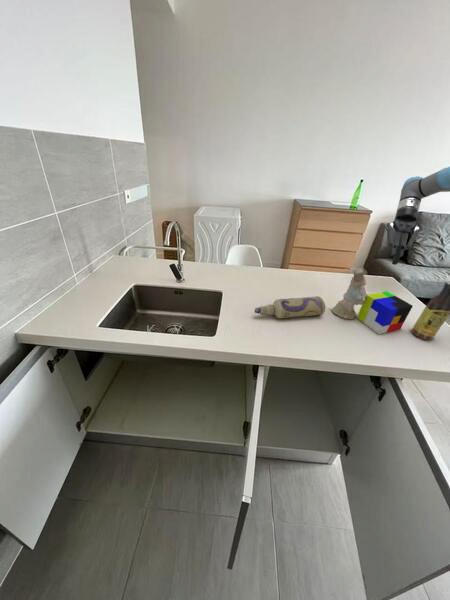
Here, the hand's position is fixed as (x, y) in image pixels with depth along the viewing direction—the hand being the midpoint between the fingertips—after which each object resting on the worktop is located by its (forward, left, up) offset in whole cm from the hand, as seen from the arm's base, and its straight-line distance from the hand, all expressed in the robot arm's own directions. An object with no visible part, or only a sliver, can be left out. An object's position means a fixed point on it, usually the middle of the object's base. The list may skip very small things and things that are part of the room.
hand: (395, 263), depth 97 cm
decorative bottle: (+32, +33, -16) cm, 49 cm away
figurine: (+13, +22, -16) cm, 30 cm away
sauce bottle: (-12, +22, -16) cm, 30 cm away
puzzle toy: (+2, +22, -16) cm, 28 cm away
